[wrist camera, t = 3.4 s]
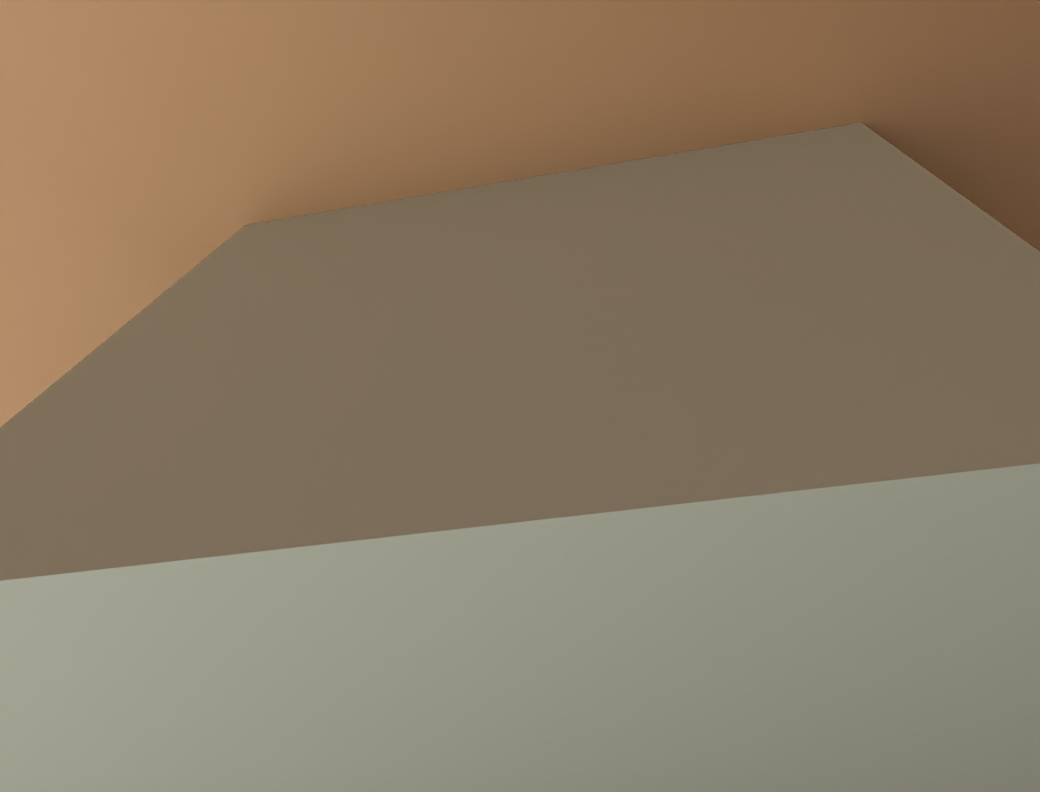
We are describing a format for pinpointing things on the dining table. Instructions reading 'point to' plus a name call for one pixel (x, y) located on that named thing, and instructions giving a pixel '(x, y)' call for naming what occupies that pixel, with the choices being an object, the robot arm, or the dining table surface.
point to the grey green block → (549, 497)
